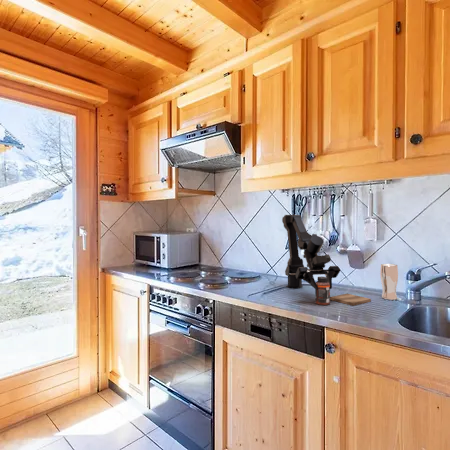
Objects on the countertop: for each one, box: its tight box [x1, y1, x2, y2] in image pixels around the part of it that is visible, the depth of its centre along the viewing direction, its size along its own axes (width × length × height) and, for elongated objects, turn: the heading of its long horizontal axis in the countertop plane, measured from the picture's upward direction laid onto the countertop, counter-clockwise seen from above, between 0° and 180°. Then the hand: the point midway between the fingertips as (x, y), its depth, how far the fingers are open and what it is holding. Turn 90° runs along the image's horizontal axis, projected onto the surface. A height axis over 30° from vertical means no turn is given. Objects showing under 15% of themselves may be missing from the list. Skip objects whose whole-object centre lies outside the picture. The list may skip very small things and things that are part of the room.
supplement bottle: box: [314, 276, 331, 306], centre depth 130 cm, size 6×6×11 cm
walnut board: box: [330, 293, 372, 307], centre depth 134 cm, size 12×12×1 cm
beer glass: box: [379, 263, 399, 301], centre depth 137 cm, size 7×7×15 cm
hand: (324, 288), depth 129 cm, fingers closed on supplement bottle, 6 cm apart
